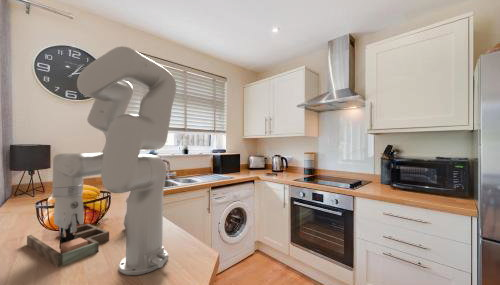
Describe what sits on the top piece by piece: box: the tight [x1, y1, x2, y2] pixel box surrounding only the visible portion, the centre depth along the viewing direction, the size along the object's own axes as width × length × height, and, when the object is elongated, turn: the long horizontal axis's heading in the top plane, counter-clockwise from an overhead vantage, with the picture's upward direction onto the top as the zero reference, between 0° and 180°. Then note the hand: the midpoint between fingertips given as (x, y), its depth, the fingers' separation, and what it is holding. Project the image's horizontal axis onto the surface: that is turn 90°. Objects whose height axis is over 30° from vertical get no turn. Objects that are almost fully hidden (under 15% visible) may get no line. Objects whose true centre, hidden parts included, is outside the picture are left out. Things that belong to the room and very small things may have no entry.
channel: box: [26, 223, 110, 268], centre depth 71 cm, size 27×16×3 cm, turn 60°
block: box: [59, 238, 88, 254], centre depth 64 cm, size 5×5×4 cm
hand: (66, 247), depth 66 cm, fingers closed
